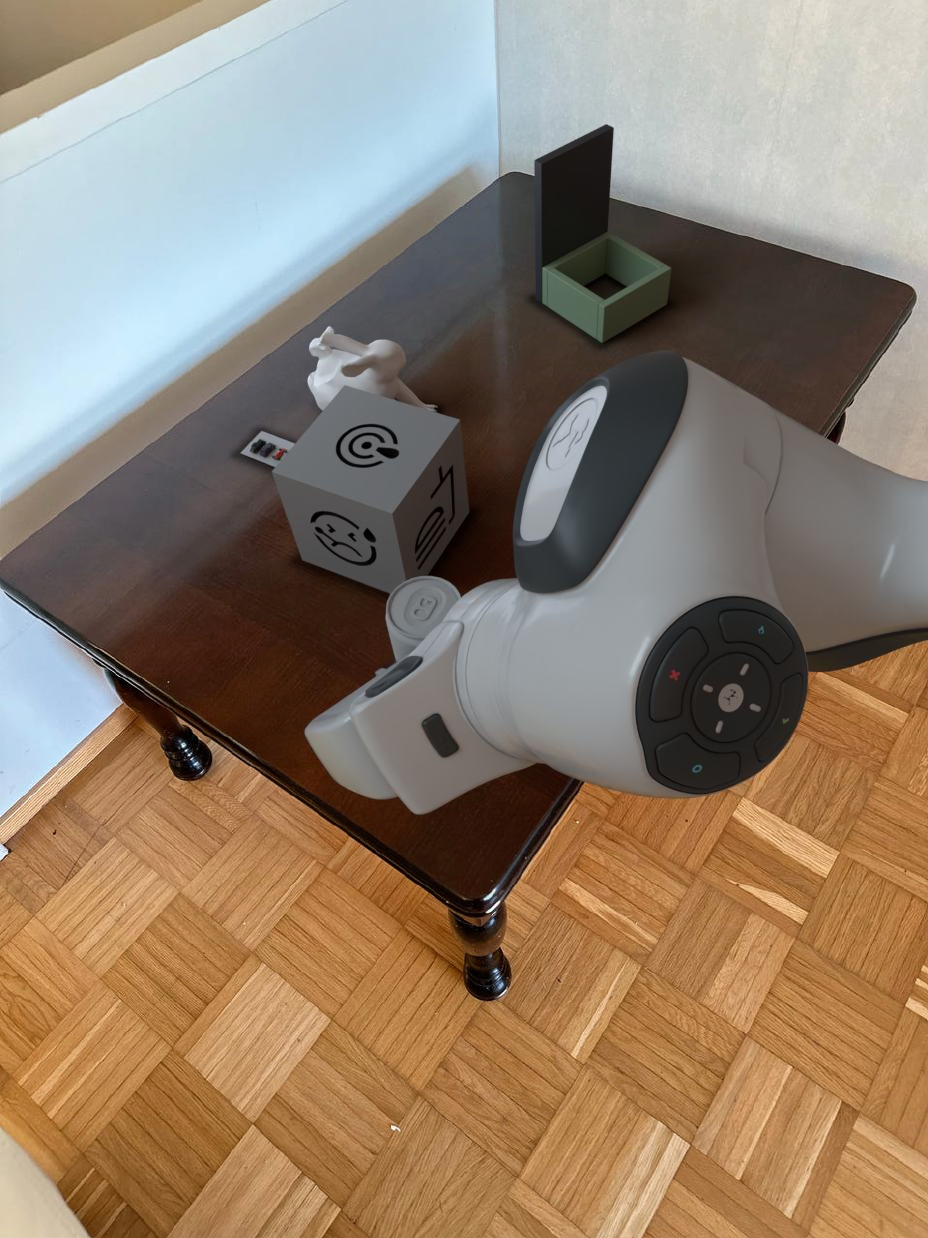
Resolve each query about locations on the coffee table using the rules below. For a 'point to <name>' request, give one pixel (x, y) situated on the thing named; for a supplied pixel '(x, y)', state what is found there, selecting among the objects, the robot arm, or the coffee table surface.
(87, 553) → the coffee table surface
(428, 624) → the beverage can
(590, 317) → the stand
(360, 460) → the icon cube
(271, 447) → the toy car tray
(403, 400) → the rabbit figurine
